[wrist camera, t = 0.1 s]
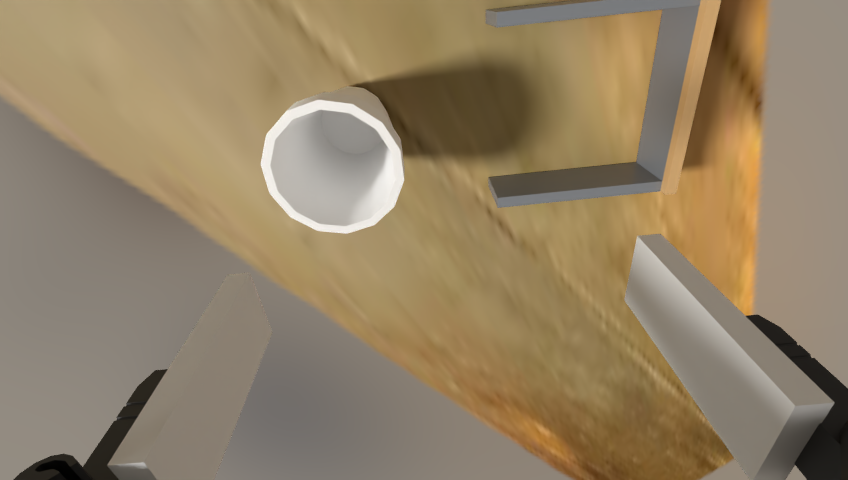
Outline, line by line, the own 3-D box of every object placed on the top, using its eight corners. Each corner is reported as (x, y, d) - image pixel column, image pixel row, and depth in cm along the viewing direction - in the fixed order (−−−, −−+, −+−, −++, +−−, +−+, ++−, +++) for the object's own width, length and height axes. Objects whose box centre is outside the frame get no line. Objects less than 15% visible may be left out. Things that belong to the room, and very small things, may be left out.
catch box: (485, 9, 35) (498, 12, 30) (678, -12, 35) (724, -13, 30) (488, 186, 43) (499, 211, 38) (644, 170, 43) (675, 193, 38)
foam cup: (386, 181, 42) (378, 248, 31) (294, 151, 40) (252, 211, 29) (418, 89, 38) (422, 129, 27) (317, 50, 36) (277, 76, 25)
